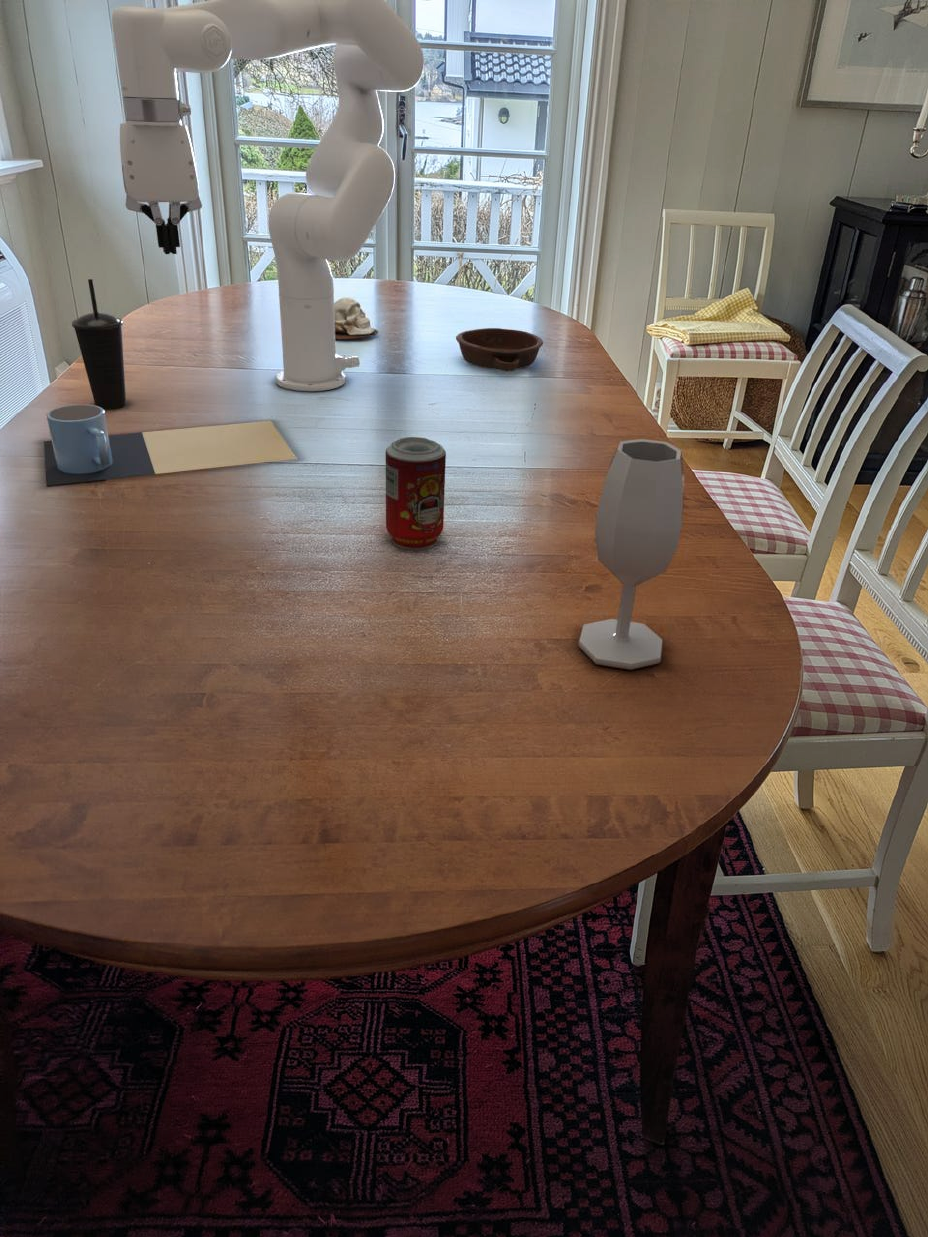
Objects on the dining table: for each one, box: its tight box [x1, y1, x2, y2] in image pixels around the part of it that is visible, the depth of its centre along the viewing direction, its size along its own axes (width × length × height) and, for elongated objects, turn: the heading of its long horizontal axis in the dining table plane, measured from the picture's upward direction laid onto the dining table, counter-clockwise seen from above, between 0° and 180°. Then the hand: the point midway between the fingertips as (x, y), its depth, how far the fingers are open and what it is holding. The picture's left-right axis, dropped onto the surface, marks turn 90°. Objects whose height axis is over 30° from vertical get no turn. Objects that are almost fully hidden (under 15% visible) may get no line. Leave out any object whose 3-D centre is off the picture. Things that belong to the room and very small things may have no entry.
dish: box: [455, 327, 544, 372], centre depth 182 cm, size 18×22×5 cm
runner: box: [43, 420, 298, 488], centre depth 134 cm, size 34×18×1 cm, turn 113°
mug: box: [46, 404, 113, 474], centre depth 125 cm, size 11×7×8 cm
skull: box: [334, 297, 379, 340], centre depth 197 cm, size 12×10×10 cm
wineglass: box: [577, 438, 685, 671], centre depth 86 cm, size 9×9×21 cm
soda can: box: [384, 436, 447, 551], centre depth 108 cm, size 7×7×12 cm
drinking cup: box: [71, 278, 127, 411], centre depth 146 cm, size 8×8×20 cm
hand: (169, 252), depth 136 cm, fingers closed
